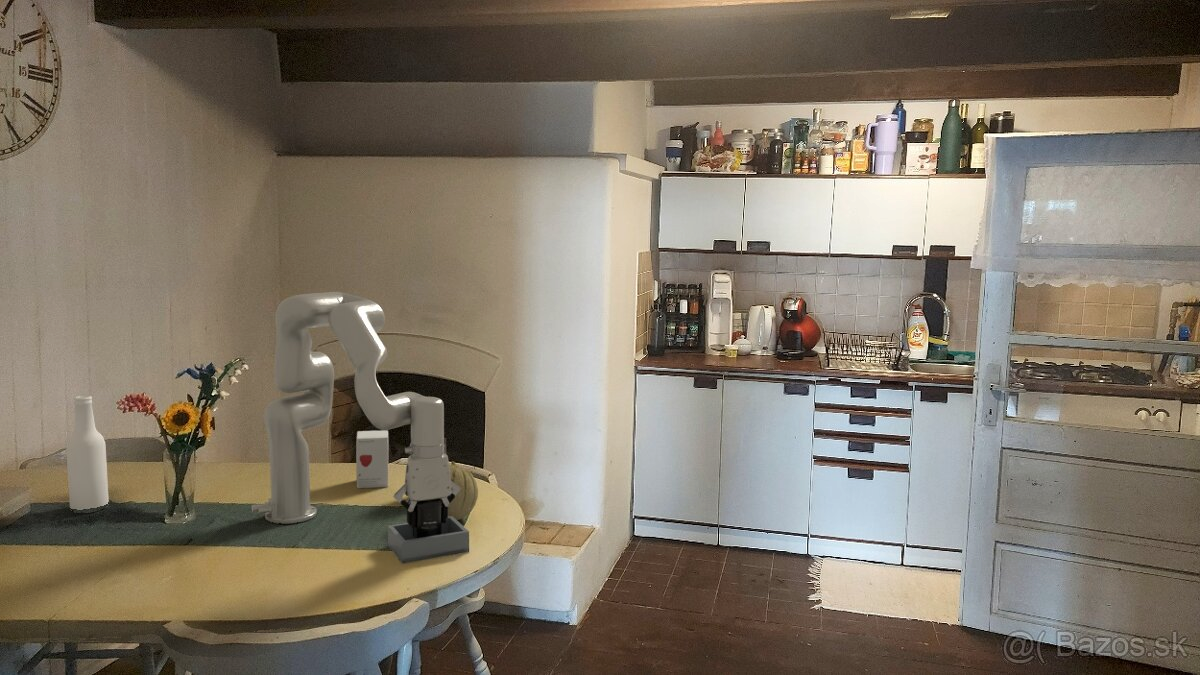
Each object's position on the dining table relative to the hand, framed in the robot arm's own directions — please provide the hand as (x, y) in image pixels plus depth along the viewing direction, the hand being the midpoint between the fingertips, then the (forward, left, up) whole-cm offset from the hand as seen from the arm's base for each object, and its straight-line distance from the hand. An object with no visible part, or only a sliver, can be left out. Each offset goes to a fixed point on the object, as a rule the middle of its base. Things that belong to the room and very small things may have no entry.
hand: (427, 523), depth 205 cm
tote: (0, 0, -6) cm, 6 cm away
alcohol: (-71, +65, -6) cm, 96 cm away
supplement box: (+1, +56, -7) cm, 56 cm away
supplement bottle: (0, 0, -3) cm, 3 cm away
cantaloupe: (+11, +17, -6) cm, 21 cm away
